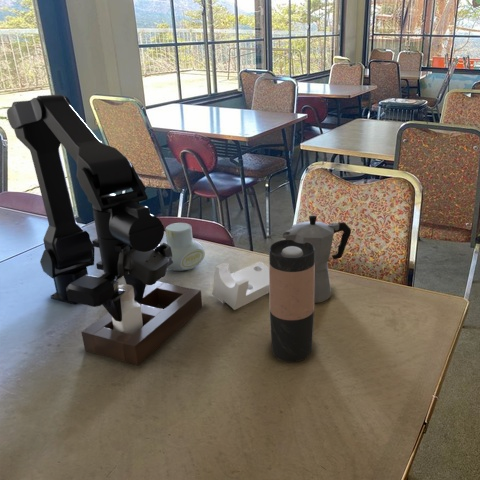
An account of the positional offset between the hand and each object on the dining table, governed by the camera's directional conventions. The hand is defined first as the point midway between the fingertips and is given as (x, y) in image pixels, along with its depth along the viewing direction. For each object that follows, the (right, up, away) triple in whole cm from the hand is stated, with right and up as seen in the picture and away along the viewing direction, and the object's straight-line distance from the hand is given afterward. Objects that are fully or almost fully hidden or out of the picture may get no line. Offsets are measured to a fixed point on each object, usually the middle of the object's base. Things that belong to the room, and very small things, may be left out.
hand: (128, 313), depth 85 cm
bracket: (+19, +1, +19) cm, 26 cm away
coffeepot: (+33, +1, +20) cm, 39 cm away
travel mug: (+29, -7, +1) cm, 30 cm away
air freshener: (+1, +7, +30) cm, 31 cm away
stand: (+1, -4, +6) cm, 7 cm away
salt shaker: (-1, -4, +2) cm, 5 cm away
